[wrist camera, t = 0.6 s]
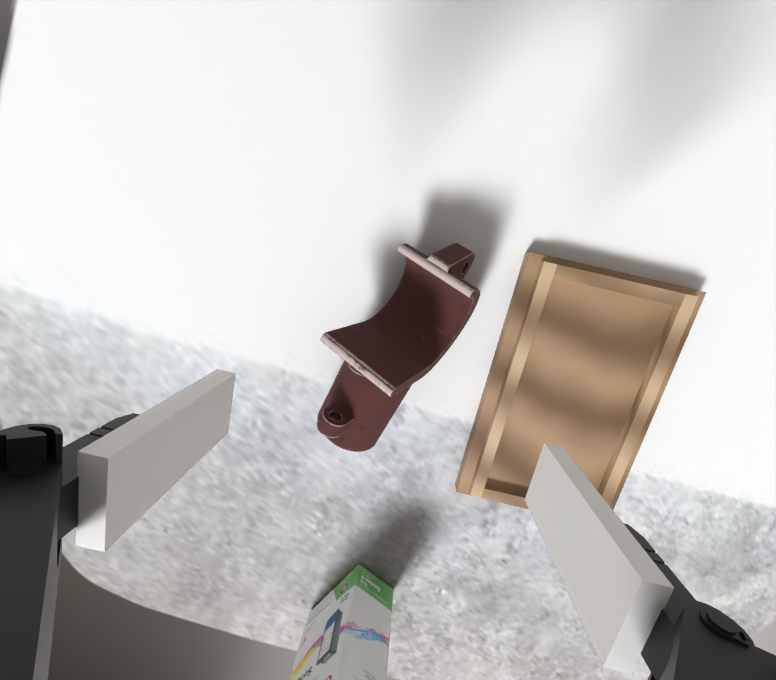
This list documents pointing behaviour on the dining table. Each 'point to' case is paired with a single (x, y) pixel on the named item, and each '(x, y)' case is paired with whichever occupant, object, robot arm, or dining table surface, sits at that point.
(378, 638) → the ink box
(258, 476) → the dining table surface
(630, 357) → the side panel
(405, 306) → the bracket
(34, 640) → the robot arm
